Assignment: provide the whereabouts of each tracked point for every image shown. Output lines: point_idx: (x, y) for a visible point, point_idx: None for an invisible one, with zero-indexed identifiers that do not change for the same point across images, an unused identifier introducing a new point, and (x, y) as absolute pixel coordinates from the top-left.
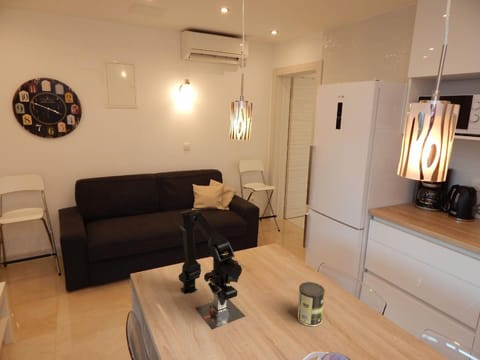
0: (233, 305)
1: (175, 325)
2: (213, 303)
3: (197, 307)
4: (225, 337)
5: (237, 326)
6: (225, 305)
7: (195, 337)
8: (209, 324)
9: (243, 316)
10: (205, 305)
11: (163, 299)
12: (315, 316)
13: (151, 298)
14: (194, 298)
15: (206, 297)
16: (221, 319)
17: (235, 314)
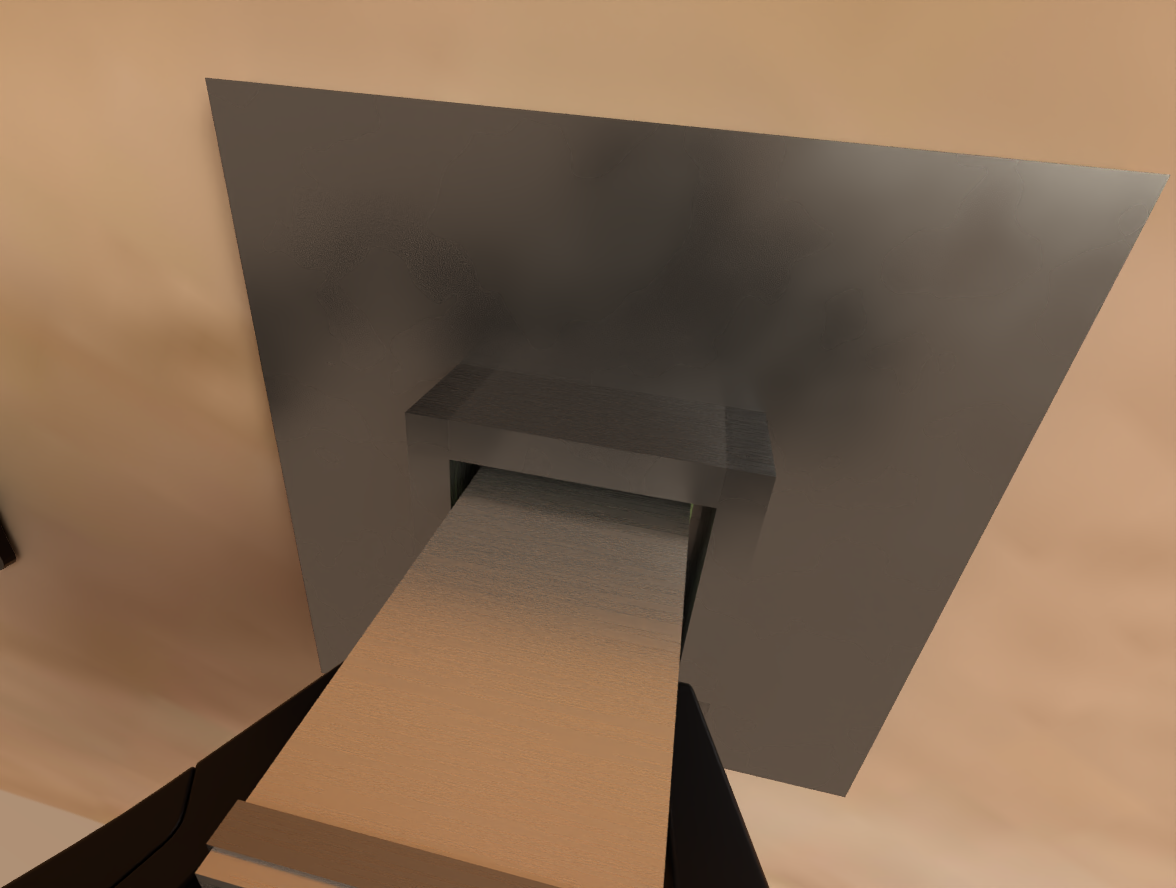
0: (580, 158)
1: None
2: (322, 445)
3: (325, 649)
4: (1089, 740)
5: (1112, 486)
6: (680, 587)
7: (767, 874)
8: (735, 757)
9: (1111, 238)
10: (324, 561)
11: (58, 721)
12: None
13: (26, 763)
14: (96, 518)
15: (104, 381)
16: (778, 612)
17: (877, 343)
